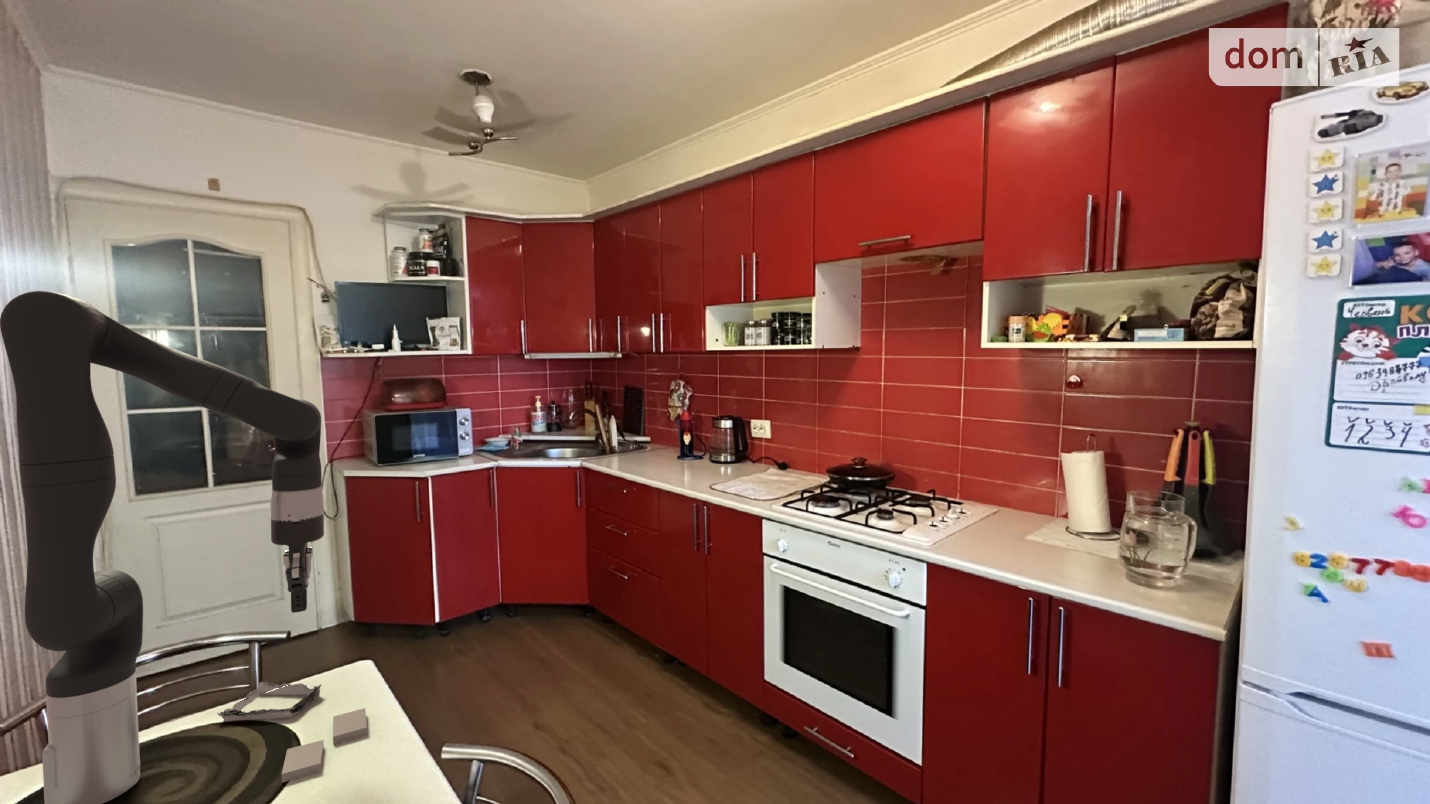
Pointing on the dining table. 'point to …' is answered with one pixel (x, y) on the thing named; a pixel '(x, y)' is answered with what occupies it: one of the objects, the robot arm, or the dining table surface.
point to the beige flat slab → (303, 761)
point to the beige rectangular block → (349, 726)
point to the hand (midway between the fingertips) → (299, 610)
